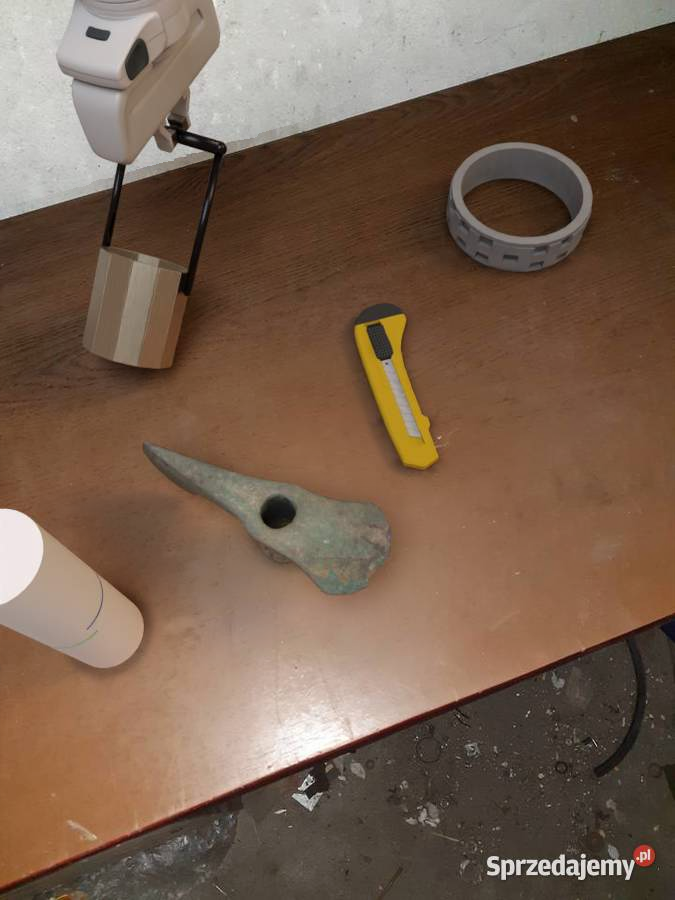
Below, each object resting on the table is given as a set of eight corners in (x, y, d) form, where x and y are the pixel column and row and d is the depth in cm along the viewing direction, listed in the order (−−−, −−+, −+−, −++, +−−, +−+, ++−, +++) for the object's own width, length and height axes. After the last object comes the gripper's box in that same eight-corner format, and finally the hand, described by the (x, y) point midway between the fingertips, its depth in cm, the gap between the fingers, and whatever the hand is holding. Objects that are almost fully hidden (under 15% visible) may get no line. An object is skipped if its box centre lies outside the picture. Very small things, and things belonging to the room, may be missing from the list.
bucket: (195, 367, 83) (150, 375, 74) (108, 335, 86) (54, 339, 77) (247, 153, 76) (205, 132, 67) (150, 124, 79) (97, 100, 69)
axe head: (137, 519, 75) (107, 483, 66) (184, 447, 79) (162, 404, 70) (361, 632, 69) (361, 609, 60) (401, 549, 73) (407, 516, 64)
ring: (420, 199, 94) (423, 170, 90) (532, 154, 98) (540, 123, 93) (493, 293, 87) (500, 266, 83) (610, 241, 90) (624, 212, 86)
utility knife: (397, 305, 87) (398, 295, 85) (460, 461, 77) (463, 454, 75) (345, 318, 86) (344, 309, 84) (402, 477, 76) (403, 470, 75)
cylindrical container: (157, 616, 70) (64, 535, 48) (116, 681, 68) (-3, 628, 45) (100, 584, 72) (-16, 492, 49) (58, 647, 69) (-85, 579, 47)
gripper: (162, -64, 66) (194, 71, 78) (43, 69, 58) (100, 196, 70) (221, -52, 64) (244, 83, 77) (108, 86, 56) (154, 212, 69)
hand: (175, 138), depth 73 cm, fingers closed on bucket
